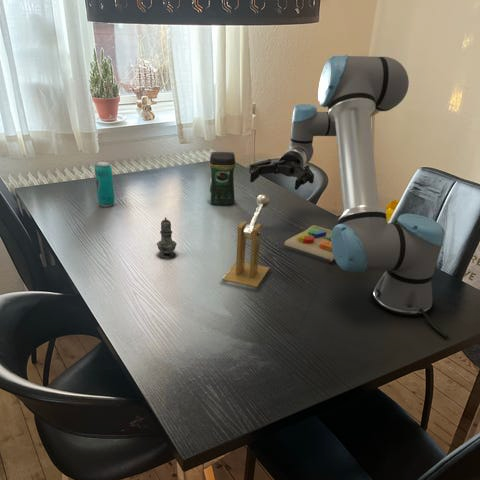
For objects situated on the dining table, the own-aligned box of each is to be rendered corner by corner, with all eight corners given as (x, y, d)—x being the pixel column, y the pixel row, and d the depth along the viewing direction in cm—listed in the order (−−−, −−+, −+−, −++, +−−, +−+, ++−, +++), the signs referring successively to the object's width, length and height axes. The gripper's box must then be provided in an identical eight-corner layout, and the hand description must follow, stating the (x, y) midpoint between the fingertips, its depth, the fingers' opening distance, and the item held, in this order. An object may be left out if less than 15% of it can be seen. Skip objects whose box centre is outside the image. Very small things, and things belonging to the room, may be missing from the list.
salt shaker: (173, 260, 147) (172, 222, 141) (154, 257, 148) (152, 219, 141) (179, 251, 152) (178, 214, 145) (160, 249, 153) (159, 212, 146)
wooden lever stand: (237, 265, 147) (239, 214, 138) (269, 272, 144) (274, 220, 135) (222, 283, 137) (223, 230, 128) (256, 291, 135) (260, 237, 126)
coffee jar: (234, 198, 192) (236, 149, 182) (234, 206, 186) (236, 155, 175) (209, 197, 192) (209, 148, 181) (208, 205, 185) (209, 154, 175)
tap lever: (259, 200, 142) (258, 190, 139) (271, 202, 141) (270, 192, 138) (241, 239, 134) (240, 229, 131) (254, 241, 133) (253, 232, 130)
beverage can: (98, 202, 183) (93, 161, 174) (114, 201, 184) (110, 160, 176) (99, 208, 178) (94, 166, 170) (115, 206, 180) (111, 165, 171)
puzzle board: (357, 243, 163) (359, 233, 161) (332, 264, 150) (334, 254, 148) (309, 229, 171) (311, 220, 169) (282, 248, 158) (283, 238, 156)
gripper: (328, 179, 161) (313, 200, 144) (255, 167, 167) (233, 187, 150) (332, 156, 156) (317, 175, 140) (256, 145, 163) (234, 162, 146)
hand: (273, 181), depth 145 cm, fingers open, 13 cm apart
